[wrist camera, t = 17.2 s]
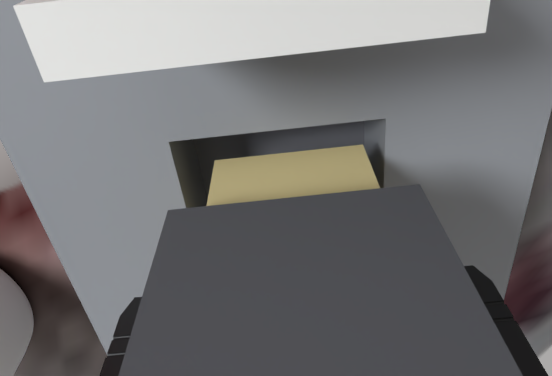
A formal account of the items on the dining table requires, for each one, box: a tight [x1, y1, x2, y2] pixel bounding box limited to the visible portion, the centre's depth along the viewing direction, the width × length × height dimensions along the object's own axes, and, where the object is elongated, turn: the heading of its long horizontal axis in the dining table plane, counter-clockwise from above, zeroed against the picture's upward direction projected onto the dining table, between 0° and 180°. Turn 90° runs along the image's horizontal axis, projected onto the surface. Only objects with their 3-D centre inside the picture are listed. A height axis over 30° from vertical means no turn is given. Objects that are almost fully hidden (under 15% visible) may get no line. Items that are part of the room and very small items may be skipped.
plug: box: [118, 145, 523, 376], centre depth 10 cm, size 5×5×8 cm
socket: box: [0, 0, 552, 356], centre depth 14 cm, size 14×16×4 cm
